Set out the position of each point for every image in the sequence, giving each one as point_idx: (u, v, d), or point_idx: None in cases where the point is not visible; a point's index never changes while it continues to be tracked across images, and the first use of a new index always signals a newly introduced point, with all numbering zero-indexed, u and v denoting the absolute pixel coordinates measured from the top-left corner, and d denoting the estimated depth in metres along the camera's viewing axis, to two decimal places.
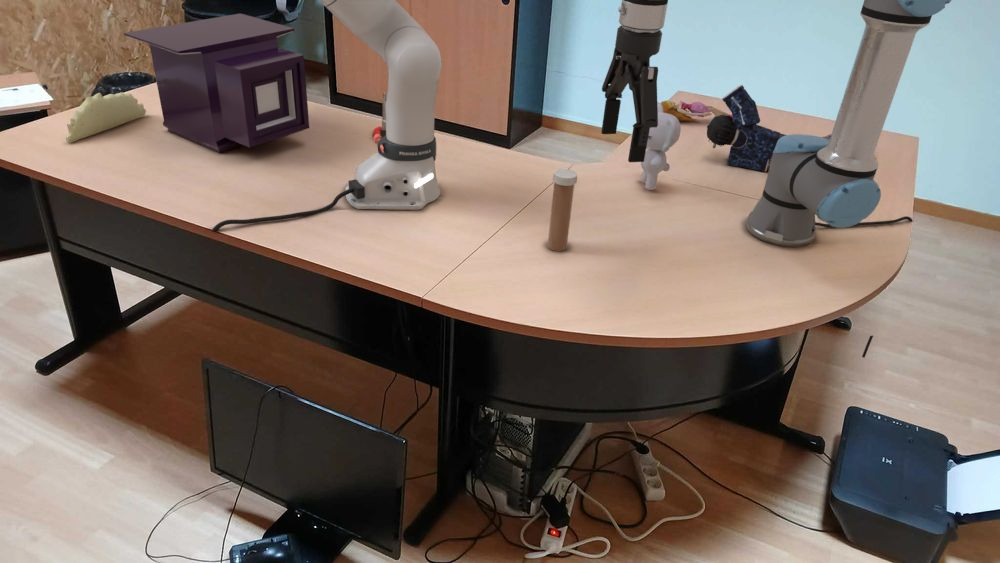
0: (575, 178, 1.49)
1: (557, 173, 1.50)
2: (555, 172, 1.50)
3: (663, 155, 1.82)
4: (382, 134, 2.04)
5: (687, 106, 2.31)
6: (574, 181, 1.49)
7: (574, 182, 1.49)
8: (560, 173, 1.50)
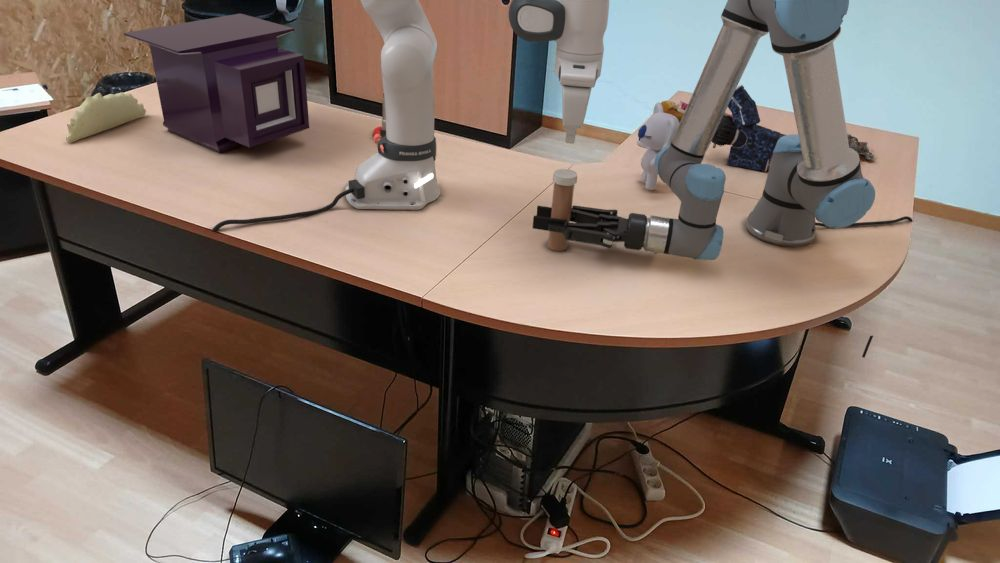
0: (575, 178, 1.49)
1: (557, 173, 1.50)
2: (555, 172, 1.50)
3: None
4: (382, 134, 2.04)
5: None
6: (574, 181, 1.49)
7: (574, 182, 1.49)
8: (560, 173, 1.50)
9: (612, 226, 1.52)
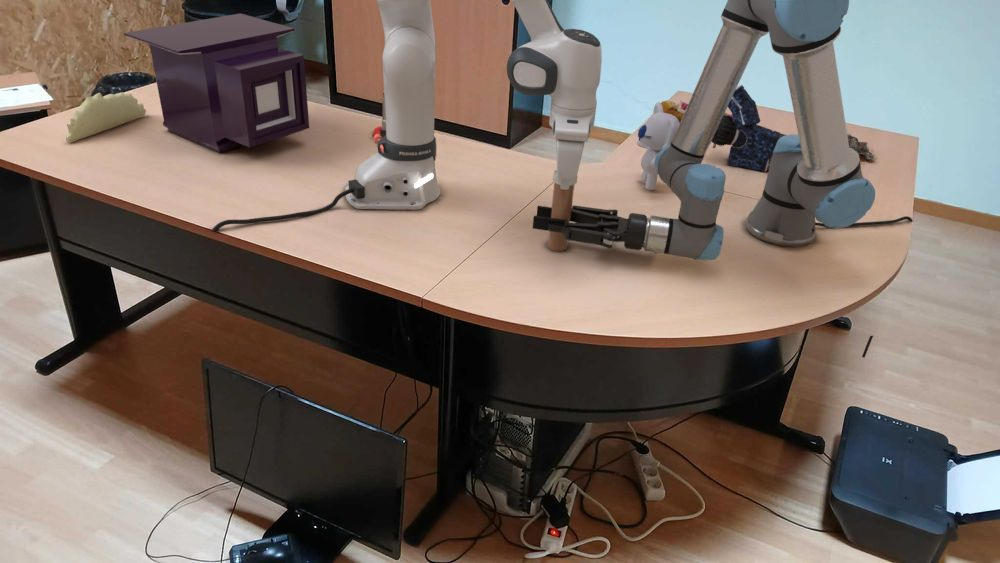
0: (575, 178, 1.49)
1: None
2: (555, 172, 1.50)
3: None
4: (382, 134, 2.04)
5: None
6: (574, 181, 1.49)
7: (574, 182, 1.49)
8: None
9: (612, 226, 1.52)
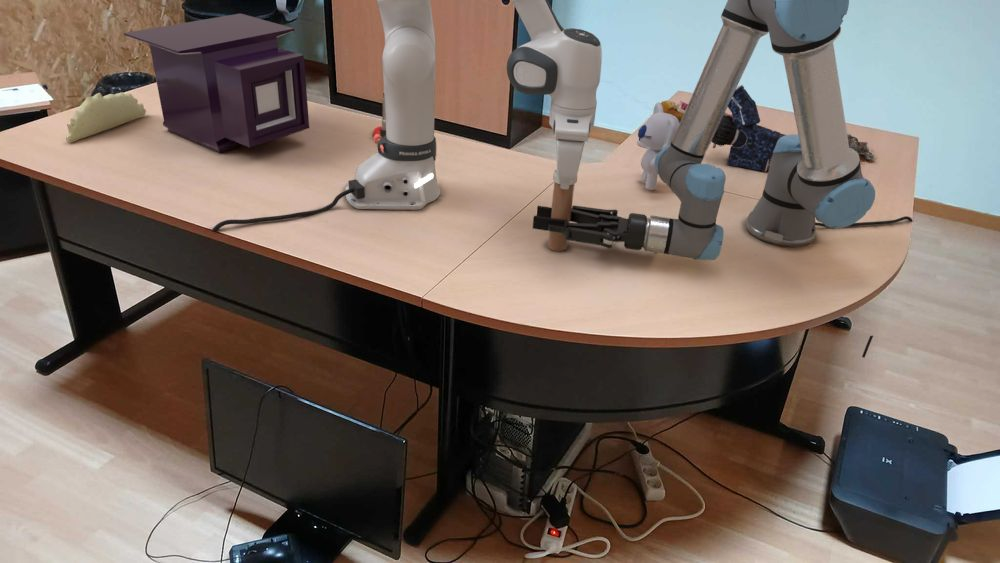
0: None
1: None
2: None
3: None
4: (382, 134, 2.04)
5: None
6: None
7: None
8: None
9: (612, 226, 1.52)
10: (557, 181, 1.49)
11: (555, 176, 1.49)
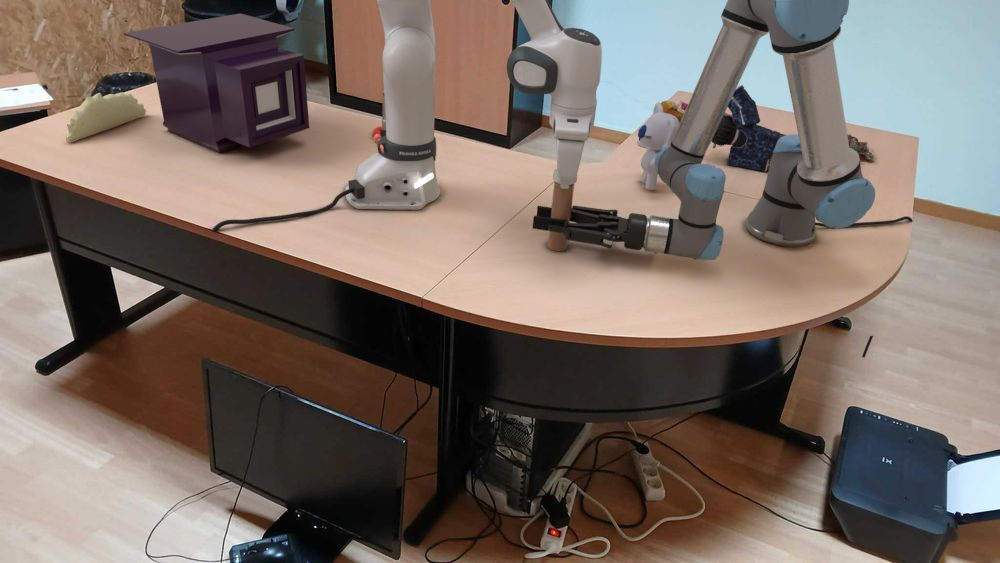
0: None
1: None
2: None
3: None
4: (382, 134, 2.04)
5: None
6: None
7: None
8: None
9: (612, 226, 1.52)
10: (573, 182, 1.49)
11: (570, 179, 1.48)
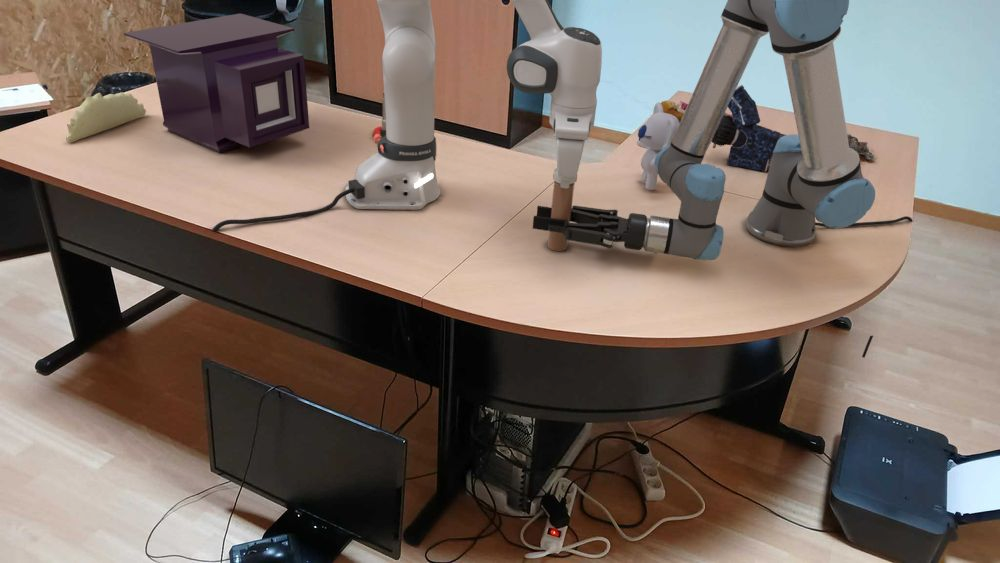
0: None
1: None
2: None
3: None
4: (382, 134, 2.04)
5: None
6: (556, 178, 1.49)
7: (556, 179, 1.49)
8: None
9: (612, 226, 1.52)
10: None
11: None
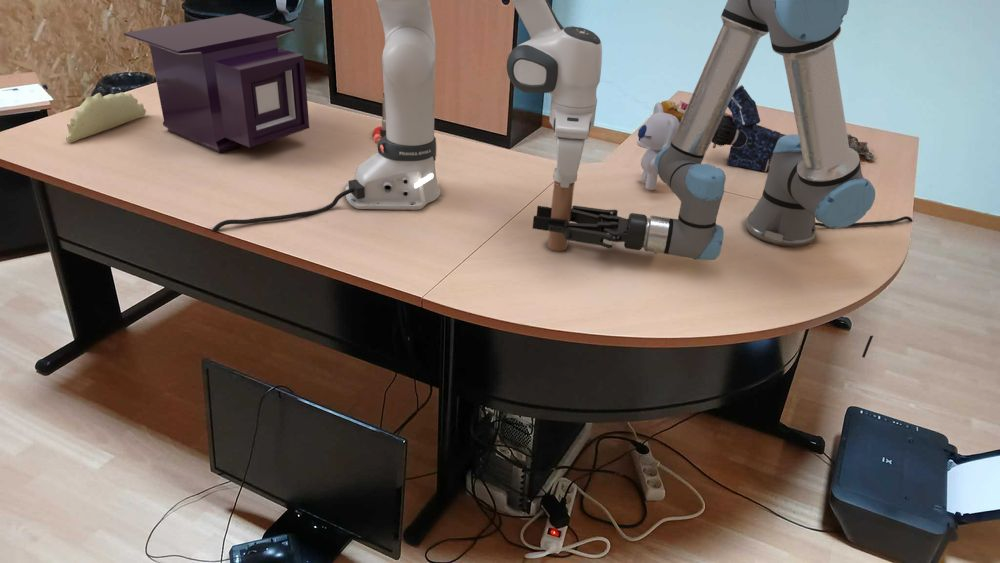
0: None
1: None
2: (555, 169, 1.50)
3: None
4: (382, 134, 2.04)
5: None
6: (572, 179, 1.49)
7: (573, 180, 1.49)
8: None
9: (612, 226, 1.52)
10: None
11: None
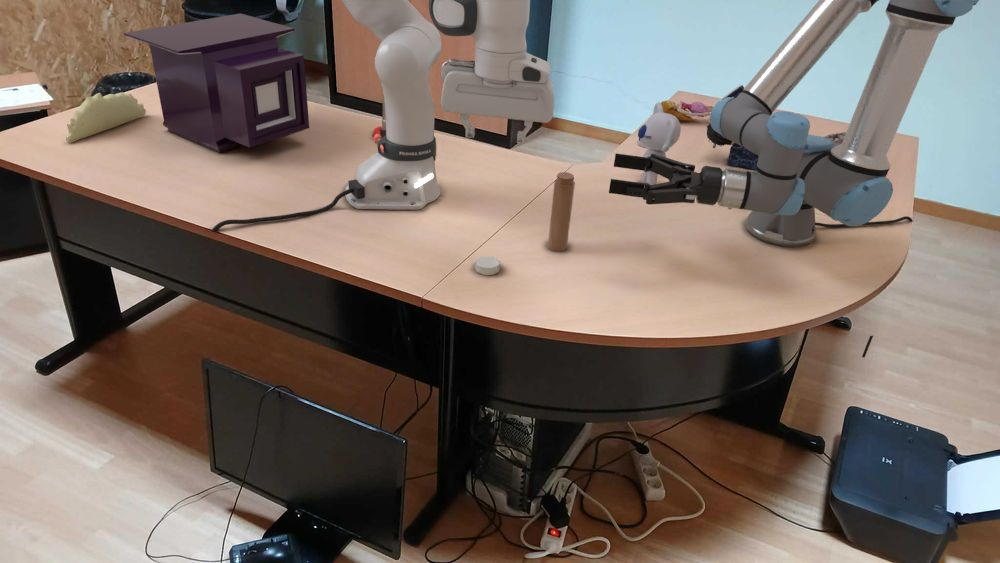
0: None
1: (486, 266, 1.47)
2: (484, 266, 1.46)
3: (663, 155, 1.82)
4: (382, 134, 2.04)
5: (687, 106, 2.31)
6: None
7: None
8: (487, 264, 1.47)
9: None
10: (477, 269, 1.48)
11: (476, 264, 1.48)
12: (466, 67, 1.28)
